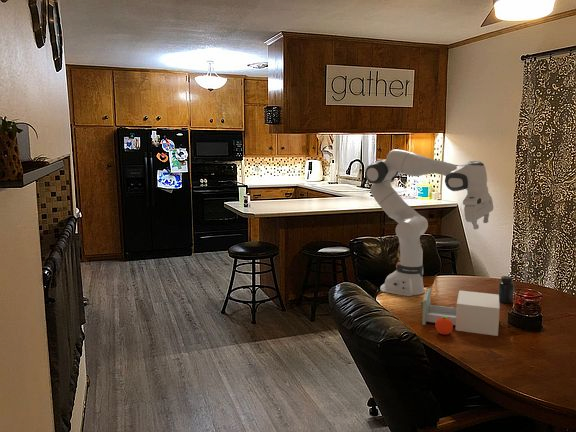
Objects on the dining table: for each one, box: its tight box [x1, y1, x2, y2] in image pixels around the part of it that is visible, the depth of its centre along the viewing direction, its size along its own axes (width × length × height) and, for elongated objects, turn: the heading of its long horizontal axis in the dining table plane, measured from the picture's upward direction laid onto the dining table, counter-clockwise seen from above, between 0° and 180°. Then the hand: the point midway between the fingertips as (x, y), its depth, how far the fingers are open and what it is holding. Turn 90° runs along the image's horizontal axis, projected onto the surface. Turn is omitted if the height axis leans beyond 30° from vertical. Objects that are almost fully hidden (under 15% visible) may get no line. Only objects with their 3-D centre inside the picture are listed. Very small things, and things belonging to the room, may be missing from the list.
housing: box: [455, 290, 500, 337], centre depth 198 cm, size 16×18×12 cm
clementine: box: [434, 317, 454, 336], centre depth 190 cm, size 8×7×7 cm
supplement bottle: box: [497, 275, 515, 304], centre depth 226 cm, size 7×7×12 cm
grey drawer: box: [420, 287, 456, 326], centre depth 204 cm, size 16×18×11 cm
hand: (481, 225), depth 216 cm, fingers open, 8 cm apart
